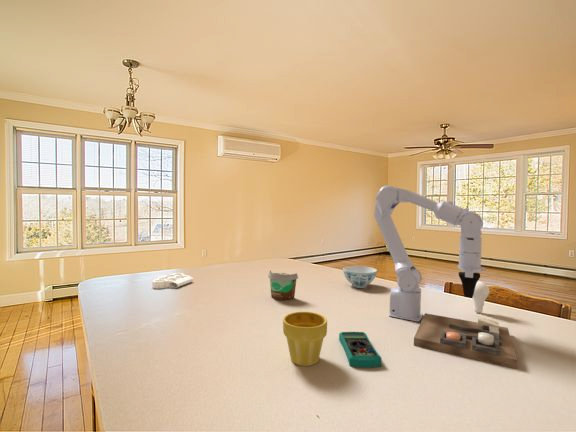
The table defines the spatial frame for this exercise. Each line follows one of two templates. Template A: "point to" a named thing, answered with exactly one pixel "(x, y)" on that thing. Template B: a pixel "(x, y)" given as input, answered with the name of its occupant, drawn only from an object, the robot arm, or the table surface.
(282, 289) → the food container
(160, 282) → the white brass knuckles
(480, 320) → the block
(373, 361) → the digital multimeter
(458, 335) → the peach egg shape
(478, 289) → the lightbulb
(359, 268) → the chinaware
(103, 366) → the table surface
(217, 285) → the table surface
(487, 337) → the cream egg shape
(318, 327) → the plant pot
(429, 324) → the brown flat wooden tray
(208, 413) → the table surface
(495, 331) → the light grey small block
